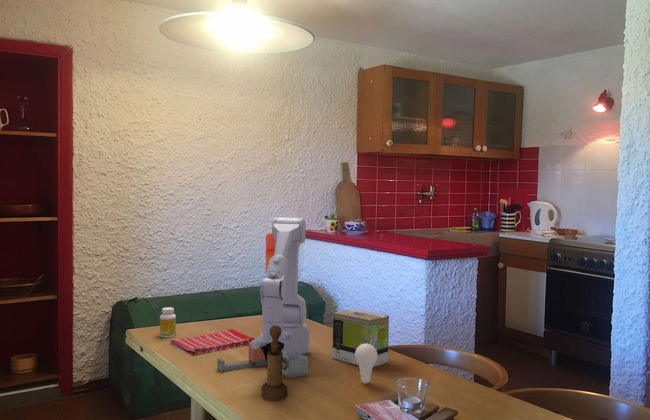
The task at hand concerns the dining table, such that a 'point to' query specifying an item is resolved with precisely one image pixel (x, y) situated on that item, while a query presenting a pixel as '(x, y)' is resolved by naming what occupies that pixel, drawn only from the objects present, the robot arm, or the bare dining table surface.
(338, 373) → the dining table surface
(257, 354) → the block
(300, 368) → the grey block with hole
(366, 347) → the lightbulb
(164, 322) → the supplement bottle
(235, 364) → the rail
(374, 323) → the tea box
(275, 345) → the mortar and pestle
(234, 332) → the dish towel
